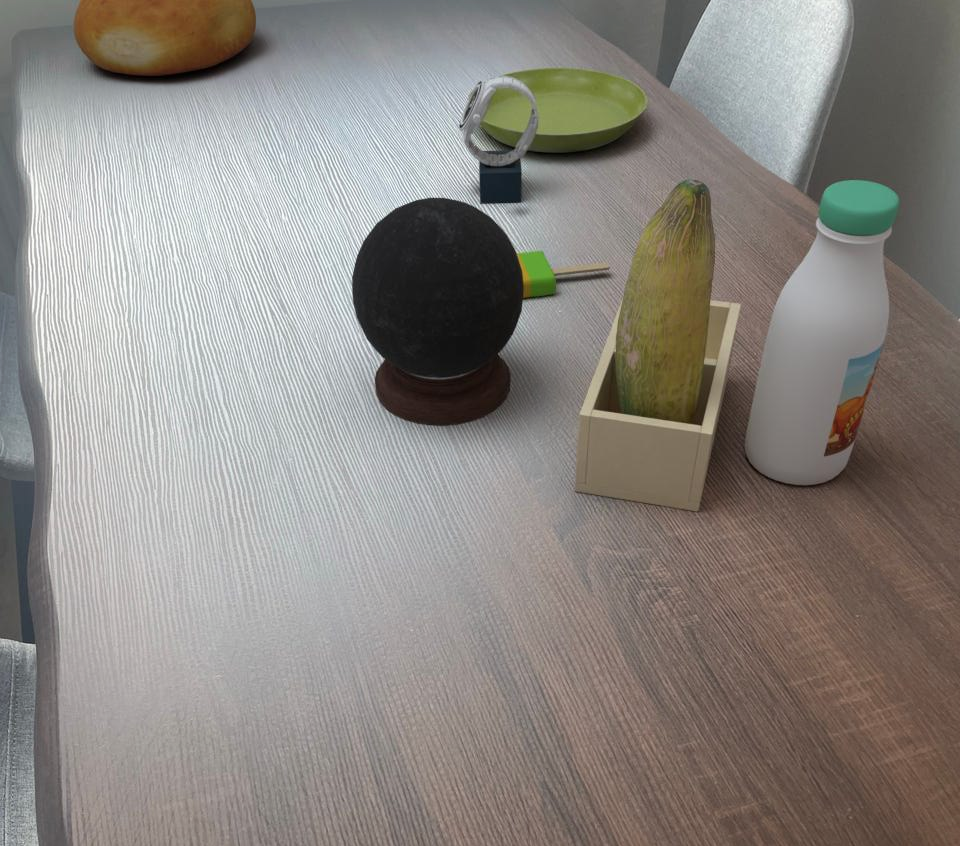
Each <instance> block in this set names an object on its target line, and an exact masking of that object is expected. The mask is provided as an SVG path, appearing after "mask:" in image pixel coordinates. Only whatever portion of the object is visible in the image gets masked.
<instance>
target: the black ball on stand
mask: <svg viewBox="0 0 960 846" xmlns="http://www.w3.org/2000/svg"><path fill="white" fill-rule="evenodd" d="M516 253H517V251H516V248H515V247H514V245H513V243H512V241H511V240H510V238H509V236H508V234H507V233H506V232H505V231H504V229H502V227H501V226H500V225H499V224H498V223H497V222H496V221H495V220H494V218H492V217H491V216H489V215H488V214H487V213H486V212H483V211H482V210H481V209H479V208H477V207H476V206H474V205H472V204H469V203H467V202H465V201H461V200H456V199H452V198H448V197H447V198H446V197H426V198H420V199H415V200H413V201H410V202H407V203H404V204H403V205H400V206H398V207H396V208H394V209H392V211H390V212H389V213H388V214H387V215H385V216H384V217H382V219H380V220H379V221H378V222H377V223H376V224H375V225H374V226H373V227H372V228H371V230H370V232H369V233H368V234H367V235H366V237H365V238H364V240H363V242H362V243H361V246H360V248H359V251H358V253H357V255H356V259H355V262H354V267H353V272H352V277H351V294H352V304H353V307H354V312H355V318H356V319H357V322H358V324H359V326H360V328H361V330H362V332H363V334H364V337H365V338H366V340H367V342H368V343H369V344H370V345H371V347H372V348H373V349H374V351H376V353H378V355H379V356H381V357H382V359H384V360H383V361H382V363H380V365H379V367H378V368H377V370H376V372H375V377H374V387H375V396H376V397H377V400H378V402H379V403H380V404H381V405H382V406H383V408H385V410H386V411H388V412H390V413H391V414H393V415H394V416H396V417H398V418H401V419H403V420H404V421H408V422H412V423H414V424H415V423H416V424H421V425H428V426H449V425H459V424H463V423H468V422H472V421H474V420H477V419H481V418H483V417H485V416H487V415H488V414H491V413H492V412H494V411H495V410H496V409H498V408H499V407H500V406H501V405H502V404H503V403H504V402H505V401H506V399H507V398H508V395H509V393H510V391H511V382H512V381H511V379H512V378H511V377H512V374H511V371H510V367H509V366H508V364H507V363H506V361H505V360H504V359H503V358H502V357H501V356H500V353H501V351H502V350H504V348H505V347H506V346H507V344H508V342H509V341H510V340H511V338H512V336H513V334H514V332H515V330H516V329H517V326H518V322H519V319H520V317H521V315H522V311H523V304H524V303H523V302H524V298H523V293H524V284H523V273H522V269H521V266H520V263H519V260H518V256H517V254H516Z"/></svg>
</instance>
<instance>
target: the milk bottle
mask: <svg viewBox="0 0 960 846" xmlns="http://www.w3.org/2000/svg"><path fill="white" fill-rule="evenodd" d="M819 203H820V204H819V208H818V217H817V219H816V220H815V227H816V229H817V234H816V236H815V239H814V241H813V243H812V245H811V247H810V248H809V250H808V252H807V254H806V255H805V257H804V258H803V260H802V261H801V263H800V264H799V265H798V267H797V268H796V269H795V270H794V272H793V273H792V275H790V277H789V279H788V280H787V281H786V283H785V284H784V286H783V287H782V289H781V292H780V294H779V296H778V298H777V301H776V303H775V305H774V309H773V311H772V315H771V318H770V323H769V326H768V331H767V335H766V339H765V343H764V348H763V352H762V356H761V362H760V365H759V370H758V375H757V379H756V383H755V390H754V394H753V399H752V403H751V407H750V408H751V409H750V413H749V417H748V422H747V427H746V432H745V439H744V453H745V455H746V457H747V459H748V461H749V464H751V465H752V467H753V468H754V469H756V470H757V471H758V472H759V473H760V474H762V475H764V476H765V477H768V478H769V479H772V480H774V481H777V482H779V483H780V482H781V483H784V484H790V485H795V486H811V485H812V486H813V485H818V484H819V485H820V484H823V483H826V482H828V481H831V480H833V479H834V478H836V477H837V476H838V475H840V473H841V472H842V471H843V470H844V469H846V467H847V465H848V462H849V460H850V457H851V454H852V450H853V448H854V444H855V441H856V438H857V434H858V431H859V429H860V426H861V422H862V419H863V415H864V412H865V409H866V405H867V402H868V399H869V396H870V392H871V390H872V389H871V388H872V385H873V382H874V378H875V375H876V372H877V368H878V365H879V362H880V359H881V355H882V351H883V347H884V343H885V339H886V336H887V333H888V325H889V320H890V319H889V318H890V295H889V290H888V285H887V280H886V275H885V266H884V247H885V241H886V240H887V239H888V238H889V237H890V236H891V234H892V233H893V232H892V231H893V229H892V227H893V225H894V223H895V221H896V217H897V216H898V215H897V214H898V211H899V206H900V198H899V196H898V194H897V193H896V192H895V191H894V190H893V189H891V188H890V187H888V186H886V185H884V184H881V183H879V182H878V183H877V182H874V181H869V180H861V179H851V180H850V179H849V180H842V181H837V182H834V183H833V184H831V185H829V186H827V187H826V188H825V190H824V191H823V193H822V195H821V199H820V202H819Z"/></svg>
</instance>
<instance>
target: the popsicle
mask: <svg viewBox="0 0 960 846" xmlns="http://www.w3.org/2000/svg"><path fill="white" fill-rule="evenodd" d="M516 254H517V256H518V260H519V263H520V266H521V269H522V273H523V284H524V293H523V299H526V298H527V299H528V298H535V297H536V298H537V297H543V296H551V295H552V296H553V295H554V294H555V293H556V291H557V278H556V277H558V276H567V275H568V276H569V275H577V274H586V273H593V272H594V273H595V272H603V271H604V272H605V271H608V270H610V269H611V265H610V264H609V262H596V263H588V264H580V265H570V266H561V267H551V265H550V264H549V261H548V259H547V257H546V255H545V252H544V251H543V250H536V251H526V252H518V253H517V252H516Z"/></svg>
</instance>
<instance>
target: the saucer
mask: <svg viewBox="0 0 960 846" xmlns="http://www.w3.org/2000/svg"><path fill="white" fill-rule="evenodd" d="M499 76H500V78H501V76H509V77H513V78H516V79H518V80H520V81H521V82H523V83H524V84H525V85H526V86H527V87H528V88H529V89H530V91H531V92H532V94H533V96H534V98H535V101H536V105H537V112H538V118H539V124H538V128H537V131H536V134H535V137H534V139H533V141H532V143H531V145H530V147H529V148H528V150H527V152H528V151H529V152H536V153H548V154H549V153H550V154H552V153H553V154H563V153H565V154H566V153H575V152H584V151H588V150H593V149H597V148H600V147H603V146H605V145H608V144H610V143H612V142H614V141H615V140H617V139H619V138H620V137H622V136H623V135H625V133H626V132H628V131H629V130H630V129H631V128H632V127H633V126H634V125H635V124H636V123H637V121H638V120H639V119H640V118H641V116H642V115H643V113H644V111H645V110H646V108H647V106H648V96H647V93H646V92H645V91H644V90H643V89H642V87H640V85H638V84H636V83H634V82H633V81H631V80H629V79H626V78H624V77H621V76H618V75H615V74H612V73H607V72H603V71H600V70H599V71H598V70H592V69H584V68H575V67H573V68H572V67H545V68H532V69H524V70H518V71H512V72H509V73H505V74H501V75H499ZM503 82H504V81H503ZM472 92H473V90H472V91H470V93H469V94H468V97H467V102H468V99H469V97H470V95H471V94H472ZM467 102H466V103H467ZM532 109H533V107H532V105H531V102H530V101H529V100H528V99H527V98H526V96H525V95H523V94H522V93H520V92H519V90H514V89H511V88H502V87H500V88H496V91H495V93H494V94H493V96H492V99H491V102H490V105H489V108H488V110H487V112H486V115H485V117H484V119H483V121H482V122H481V124H480V126H479V127H481V129H483V130H484V131H485V132H486V133H487V135H489V136H491V137H492V138H493V139H495V140H496V141H498V142H500V143H502V144H504V145H507V146H509V147H512V148H514V149H515V148H516V145H517V143H518V141H519V140H520V138H521V137H522V135H523V133H524V132H525V129H526V127H527V125H528V122H529V119H530V116H531V110H532Z"/></svg>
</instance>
